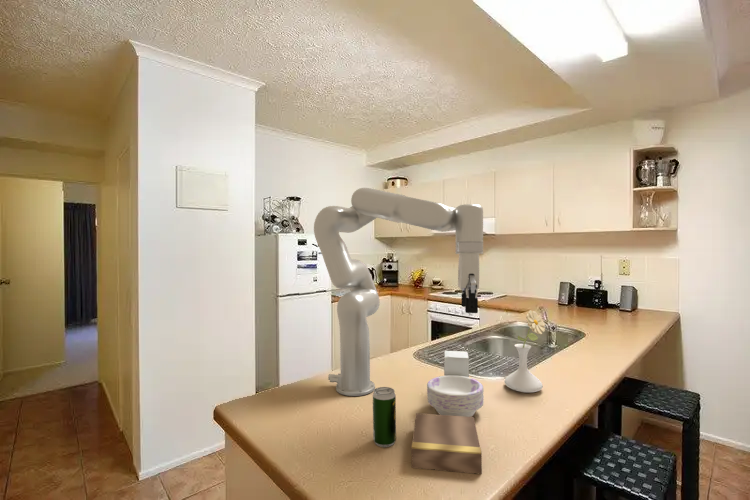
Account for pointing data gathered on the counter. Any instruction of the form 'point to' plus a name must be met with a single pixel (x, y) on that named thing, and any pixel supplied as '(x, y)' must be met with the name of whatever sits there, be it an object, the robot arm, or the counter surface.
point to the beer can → (384, 416)
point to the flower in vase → (522, 376)
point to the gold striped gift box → (446, 443)
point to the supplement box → (456, 363)
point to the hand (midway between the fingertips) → (469, 309)
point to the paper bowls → (455, 395)
